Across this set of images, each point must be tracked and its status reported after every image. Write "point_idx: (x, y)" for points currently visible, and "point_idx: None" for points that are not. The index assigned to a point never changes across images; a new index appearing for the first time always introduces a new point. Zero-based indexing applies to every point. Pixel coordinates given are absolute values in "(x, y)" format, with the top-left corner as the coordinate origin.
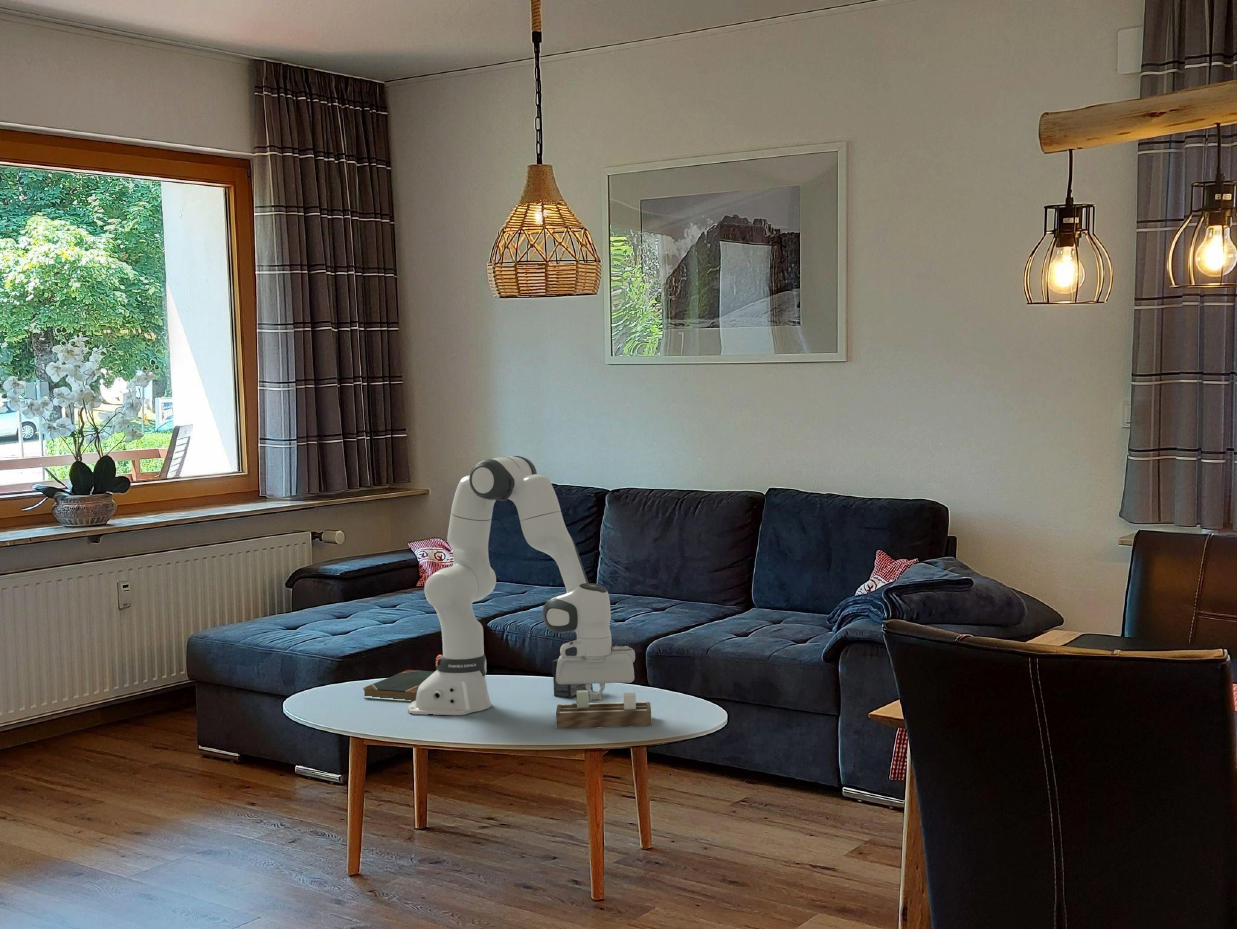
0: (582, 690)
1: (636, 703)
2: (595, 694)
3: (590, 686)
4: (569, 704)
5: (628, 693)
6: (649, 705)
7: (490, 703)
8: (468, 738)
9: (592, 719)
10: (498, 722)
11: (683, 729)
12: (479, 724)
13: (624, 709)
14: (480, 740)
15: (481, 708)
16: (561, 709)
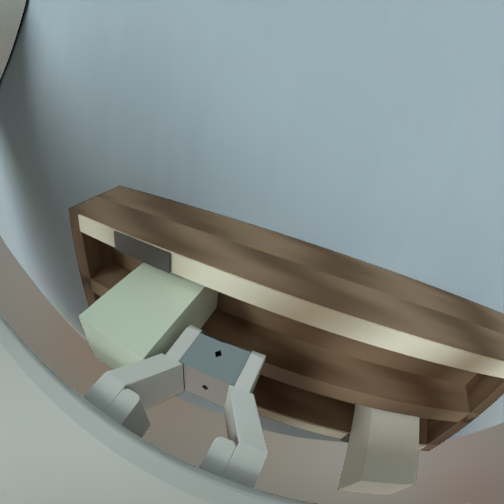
0: (106, 334)
1: (476, 370)
2: (205, 397)
3: (144, 428)
4: (106, 238)
5: (376, 486)
6: (480, 411)
7: (16, 20)
8: (27, 268)
9: None
10: (23, 168)
11: (462, 434)
12: (10, 176)
13: (352, 432)
14: (42, 290)
15: (4, 60)
16: (97, 292)
